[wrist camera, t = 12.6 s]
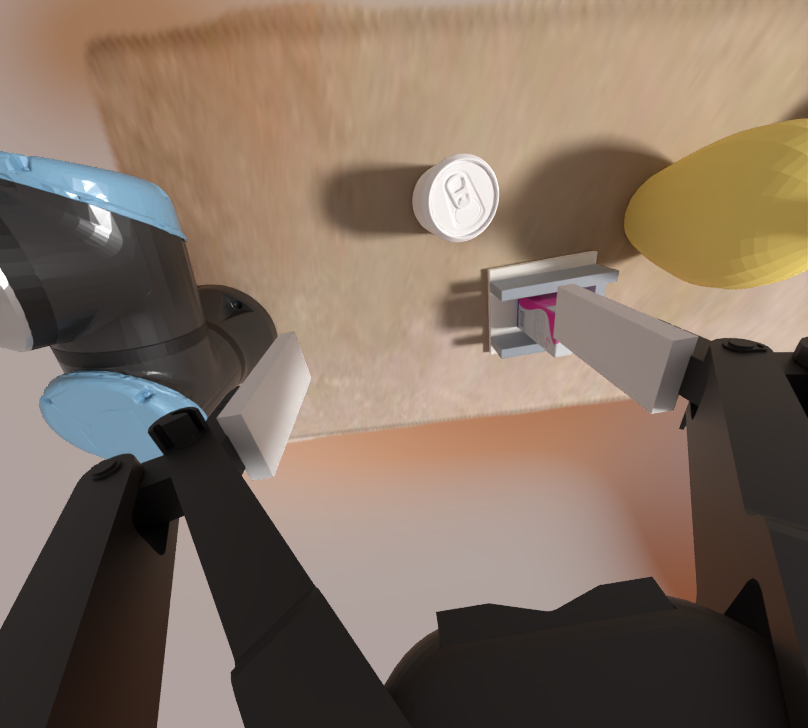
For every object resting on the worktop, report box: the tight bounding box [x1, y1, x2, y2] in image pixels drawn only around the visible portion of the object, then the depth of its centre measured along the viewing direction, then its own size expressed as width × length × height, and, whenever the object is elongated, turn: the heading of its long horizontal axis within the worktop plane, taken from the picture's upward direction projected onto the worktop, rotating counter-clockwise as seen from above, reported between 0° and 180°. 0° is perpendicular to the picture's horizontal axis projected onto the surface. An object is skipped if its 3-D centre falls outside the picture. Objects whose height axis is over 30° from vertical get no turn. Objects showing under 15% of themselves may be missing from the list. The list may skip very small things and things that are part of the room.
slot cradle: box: [488, 251, 619, 359], centre depth 46 cm, size 16×14×6 cm
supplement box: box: [517, 292, 574, 357], centre depth 43 cm, size 6×6×12 cm
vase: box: [624, 118, 808, 289], centre depth 31 cm, size 16×16×28 cm
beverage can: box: [412, 154, 499, 242], centre depth 36 cm, size 8×8×12 cm
